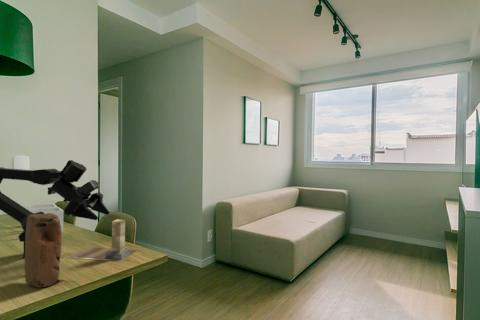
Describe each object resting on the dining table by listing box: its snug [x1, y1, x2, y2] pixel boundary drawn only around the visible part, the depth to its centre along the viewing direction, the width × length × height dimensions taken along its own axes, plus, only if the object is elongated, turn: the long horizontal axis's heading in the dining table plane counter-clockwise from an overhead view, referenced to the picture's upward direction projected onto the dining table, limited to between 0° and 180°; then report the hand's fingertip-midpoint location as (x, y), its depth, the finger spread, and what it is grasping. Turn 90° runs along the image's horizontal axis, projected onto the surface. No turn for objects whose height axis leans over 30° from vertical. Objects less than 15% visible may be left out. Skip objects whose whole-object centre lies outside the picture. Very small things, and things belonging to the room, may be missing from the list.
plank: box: [68, 246, 138, 263], centre depth 102 cm, size 20×12×2 cm, turn 84°
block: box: [24, 213, 63, 289], centre depth 82 cm, size 11×8×20 cm
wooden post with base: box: [105, 218, 131, 260], centre depth 100 cm, size 6×6×13 cm
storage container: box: [27, 202, 65, 234], centre depth 137 cm, size 25×11×11 cm, turn 43°
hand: (103, 216), depth 104 cm, fingers open, 9 cm apart
